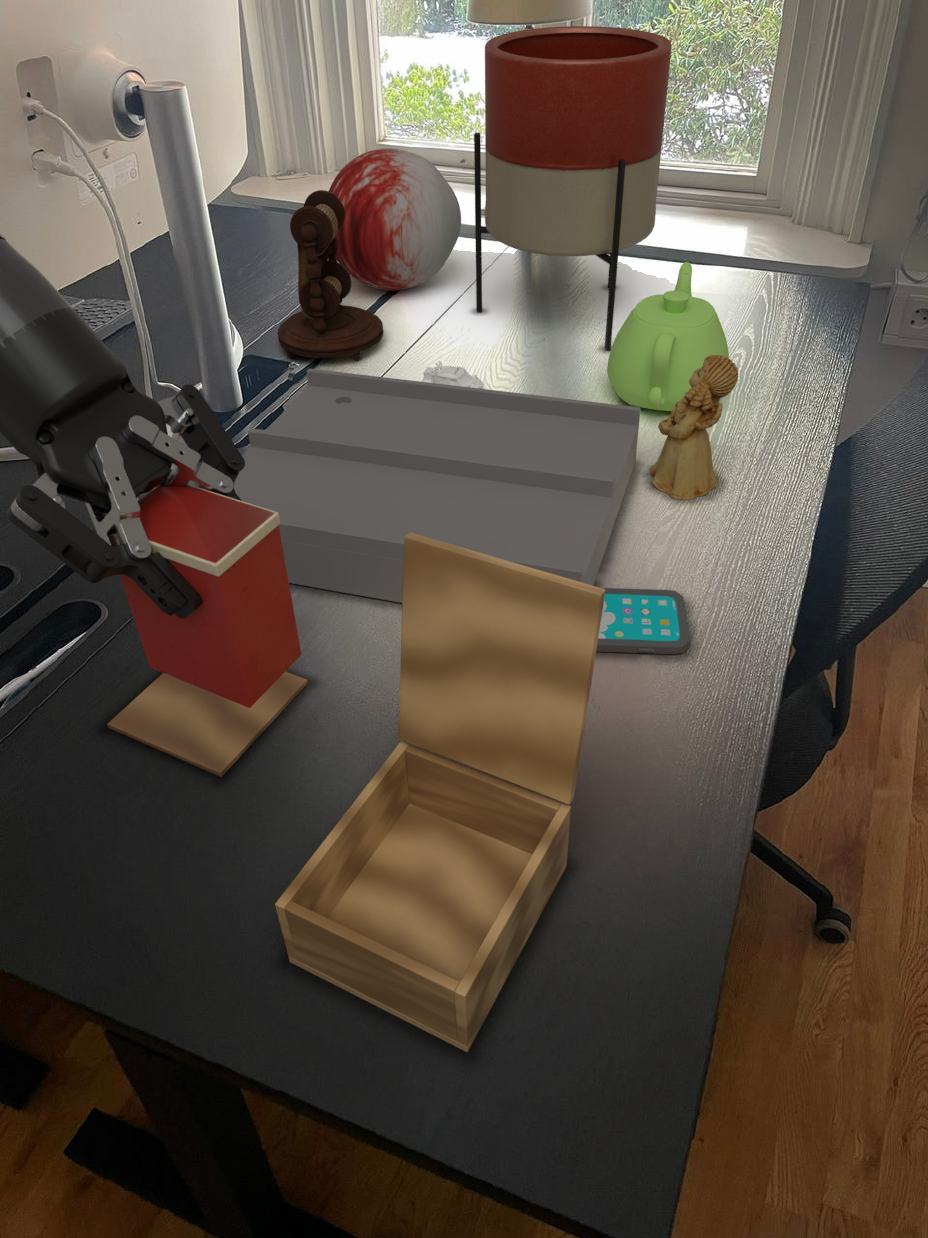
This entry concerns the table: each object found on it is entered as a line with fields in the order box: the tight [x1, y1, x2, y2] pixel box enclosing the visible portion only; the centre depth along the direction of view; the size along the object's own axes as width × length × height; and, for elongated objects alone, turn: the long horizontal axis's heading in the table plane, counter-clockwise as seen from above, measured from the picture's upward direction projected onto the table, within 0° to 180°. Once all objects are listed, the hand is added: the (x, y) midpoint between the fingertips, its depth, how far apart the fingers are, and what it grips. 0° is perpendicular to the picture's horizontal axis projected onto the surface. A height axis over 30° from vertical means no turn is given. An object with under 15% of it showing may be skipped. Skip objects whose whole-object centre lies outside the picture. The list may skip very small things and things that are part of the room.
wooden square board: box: [106, 671, 309, 778], centre depth 83 cm, size 12×12×1 cm
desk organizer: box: [234, 368, 642, 604], centre depth 103 cm, size 32×40×7 cm
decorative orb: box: [328, 147, 462, 291], centre depth 149 cm, size 21×20×20 cm
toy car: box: [420, 360, 485, 389], centre depth 125 cm, size 5×8×4 cm, turn 73°
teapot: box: [606, 261, 730, 412], centre depth 122 cm, size 22×15×13 cm
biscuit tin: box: [118, 484, 302, 708], centre depth 59 cm, size 6×8×11 cm
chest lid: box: [397, 533, 605, 805], centre depth 64 cm, size 16×13×1 cm
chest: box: [274, 740, 572, 1053], centre depth 65 cm, size 15×13×7 cm
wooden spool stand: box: [277, 189, 384, 362], centre depth 132 cm, size 15×15×20 cm
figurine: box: [650, 355, 739, 501], centre depth 104 cm, size 8×8×15 cm
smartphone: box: [596, 587, 690, 655], centre depth 90 cm, size 9×1×15 cm
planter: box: [473, 25, 673, 352], centre depth 134 cm, size 24×25×35 cm
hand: (227, 579), depth 57 cm, fingers closed on biscuit tin, 5 cm apart
